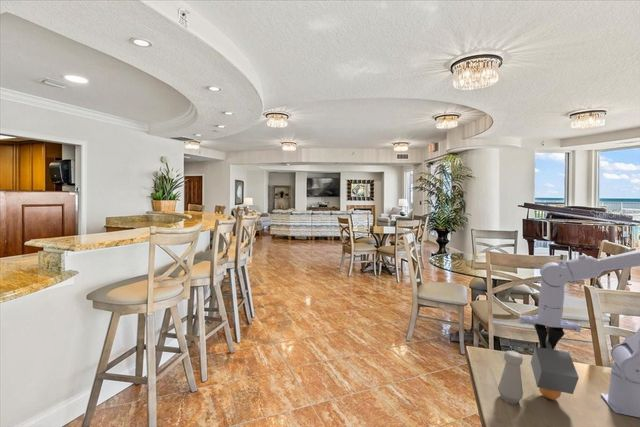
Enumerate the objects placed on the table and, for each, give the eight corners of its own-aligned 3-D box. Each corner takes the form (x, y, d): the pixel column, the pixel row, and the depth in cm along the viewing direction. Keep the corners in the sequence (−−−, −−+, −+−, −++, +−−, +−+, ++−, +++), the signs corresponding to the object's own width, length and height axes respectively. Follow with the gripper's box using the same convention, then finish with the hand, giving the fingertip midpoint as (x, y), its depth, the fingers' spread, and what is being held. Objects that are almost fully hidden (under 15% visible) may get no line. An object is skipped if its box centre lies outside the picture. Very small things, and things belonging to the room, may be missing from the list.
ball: (560, 377, 90) (565, 394, 86) (556, 388, 92) (560, 405, 88) (539, 372, 92) (542, 389, 88) (535, 383, 94) (538, 400, 90)
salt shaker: (525, 408, 86) (530, 360, 84) (501, 404, 87) (505, 357, 86) (517, 394, 91) (521, 349, 90) (494, 391, 92) (498, 346, 91)
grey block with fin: (572, 394, 86) (578, 377, 83) (537, 387, 88) (541, 370, 85) (557, 351, 97) (562, 335, 95) (526, 346, 100) (530, 330, 97)
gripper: (575, 304, 95) (570, 349, 96) (518, 297, 100) (514, 340, 101) (586, 313, 88) (580, 361, 90) (524, 304, 93) (519, 350, 94)
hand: (546, 350), depth 95 cm, fingers closed on grey block with fin
